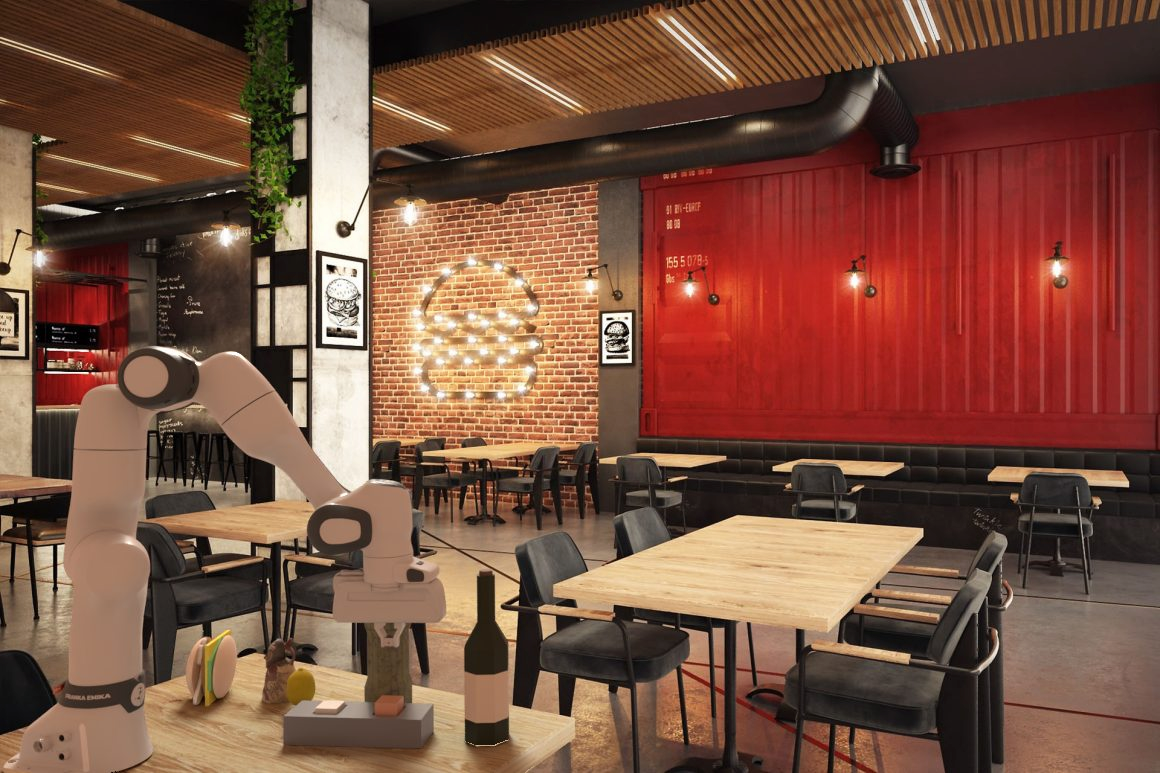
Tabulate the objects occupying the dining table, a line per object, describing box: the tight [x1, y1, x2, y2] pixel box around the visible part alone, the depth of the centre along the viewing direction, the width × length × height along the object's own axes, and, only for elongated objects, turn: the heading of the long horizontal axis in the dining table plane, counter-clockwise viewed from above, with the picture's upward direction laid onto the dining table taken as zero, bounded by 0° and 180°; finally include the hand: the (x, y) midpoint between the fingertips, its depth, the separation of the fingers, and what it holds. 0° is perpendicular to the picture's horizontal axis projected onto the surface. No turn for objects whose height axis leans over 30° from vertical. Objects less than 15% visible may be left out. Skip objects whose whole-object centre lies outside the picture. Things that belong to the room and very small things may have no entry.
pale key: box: [315, 700, 346, 714], centre depth 156 cm, size 4×4×4 cm
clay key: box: [375, 695, 404, 716], centre depth 155 cm, size 4×4×4 cm
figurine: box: [261, 637, 296, 704], centre depth 177 cm, size 7×7×12 cm
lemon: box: [286, 667, 316, 707], centre depth 170 cm, size 6×6×8 cm
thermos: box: [363, 623, 413, 703], centre depth 165 cm, size 9×12×35 cm
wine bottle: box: [463, 568, 510, 745], centre depth 155 cm, size 8×8×30 cm
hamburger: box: [185, 629, 238, 707], centre depth 179 cm, size 12×8×12 cm
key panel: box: [282, 700, 435, 749], centre depth 155 cm, size 25×8×5 cm, turn 84°
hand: (390, 646), depth 155 cm, fingers closed
